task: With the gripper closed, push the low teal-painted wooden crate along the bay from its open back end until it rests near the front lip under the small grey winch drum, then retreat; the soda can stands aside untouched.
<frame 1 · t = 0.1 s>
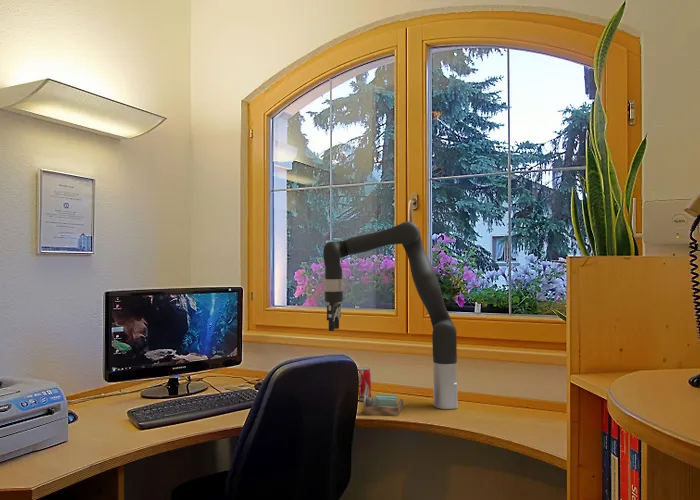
hand: (334, 329, 225), 29 cm above the table, tool pointing down, fingers open, 8 cm apart
bay: (384, 409, 210), on the table
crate: (385, 407, 215), on the table
soda can: (362, 400, 226), on the table
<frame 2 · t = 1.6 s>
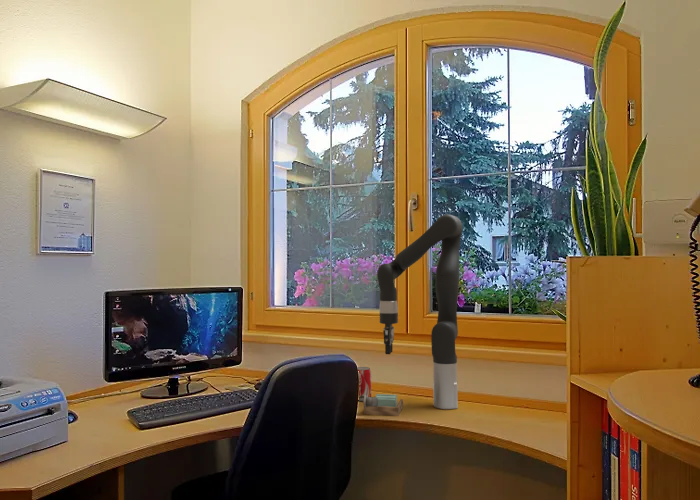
hand: (389, 353, 226), 19 cm above the table, tool pointing down, fingers open, 4 cm apart
nothing on the table moved.
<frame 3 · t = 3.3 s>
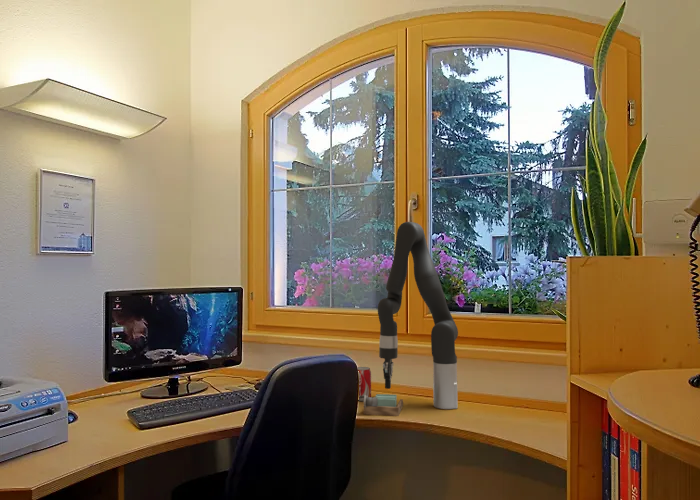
hand: (387, 388, 225), 5 cm above the table, tool pointing down, fingers closed
nothing on the table moved.
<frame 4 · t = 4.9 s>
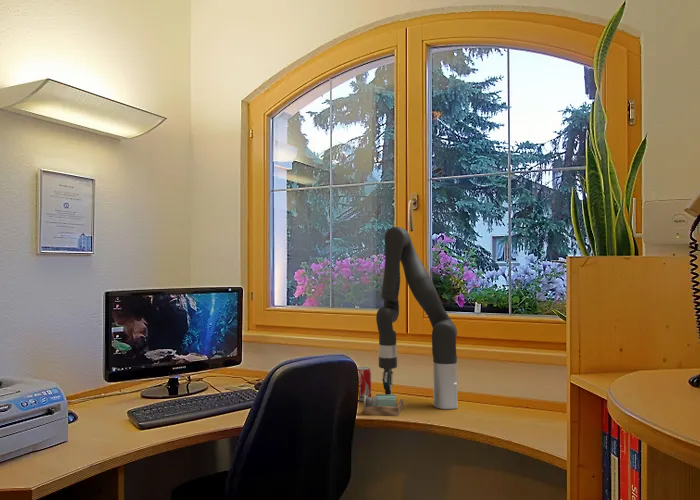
hand: (388, 398, 221), 1 cm above the table, tool pointing down, fingers closed
nothing on the table moved.
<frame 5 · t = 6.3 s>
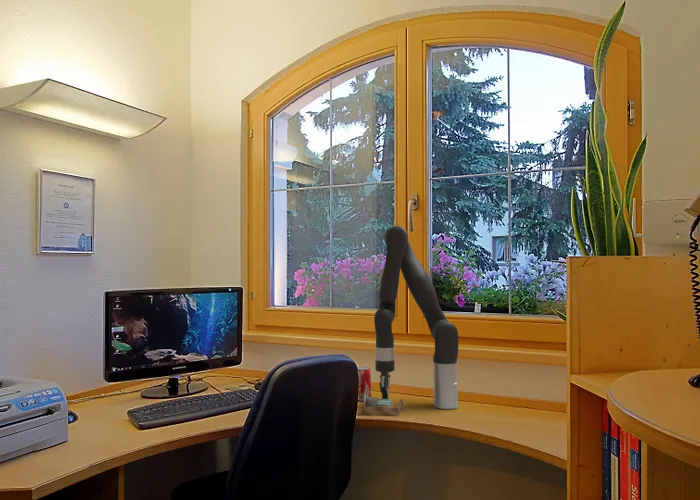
hand: (385, 402, 214), 2 cm above the table, tool pointing down, fingers closed
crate: (380, 411, 209), on the table, touching gripper
everything else where it was.
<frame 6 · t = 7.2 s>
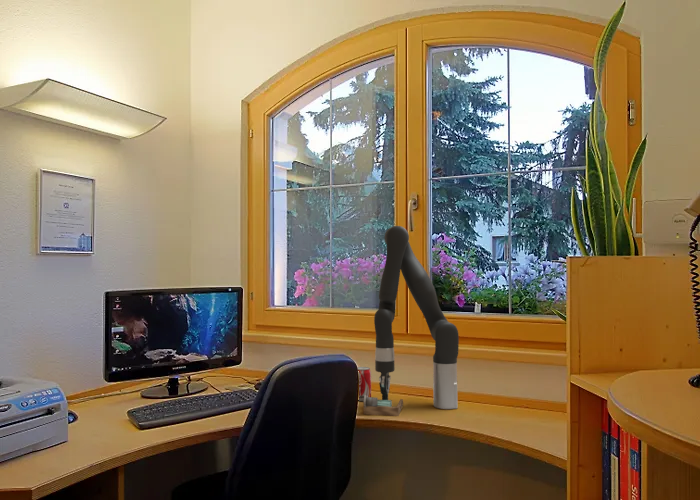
hand: (385, 403, 214), 2 cm above the table, tool pointing down, fingers closed
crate: (379, 412, 208), on the table, touching bay, gripper
everything else where it was.
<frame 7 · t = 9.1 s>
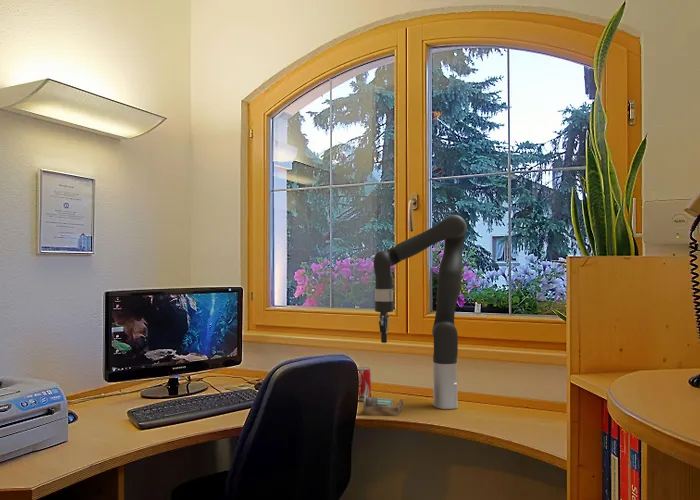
hand: (384, 342, 223), 24 cm above the table, tool pointing down, fingers closed
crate: (380, 411, 209), on the table
everything else where it was.
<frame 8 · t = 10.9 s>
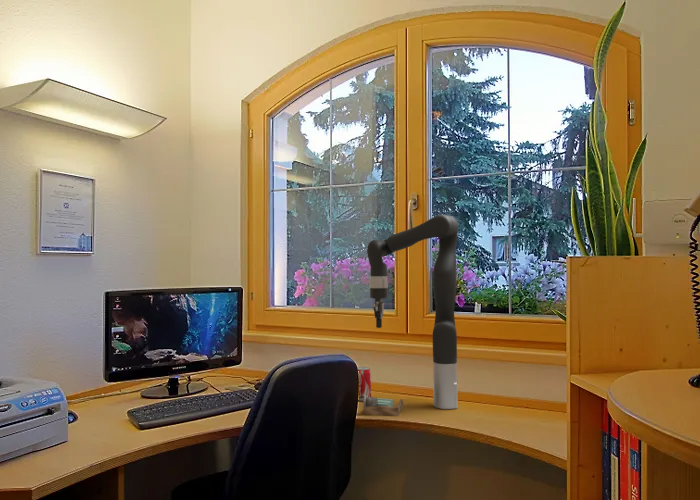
hand: (379, 327, 233), 29 cm above the table, tool pointing down, fingers closed
nothing on the table moved.
at the end: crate inside the target area (1.4 cm from its centre), on the table; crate tilted 0°; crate moved 7.2 cm from its start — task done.
